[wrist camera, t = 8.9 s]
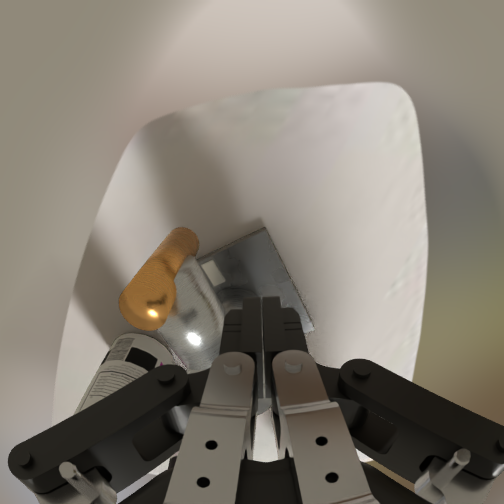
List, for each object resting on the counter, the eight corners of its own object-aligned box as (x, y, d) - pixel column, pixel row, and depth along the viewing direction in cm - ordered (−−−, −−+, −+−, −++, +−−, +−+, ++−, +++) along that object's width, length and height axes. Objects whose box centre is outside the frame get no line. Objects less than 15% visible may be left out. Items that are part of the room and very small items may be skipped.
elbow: (281, 344, 26) (291, 427, 17) (219, 364, 27) (209, 445, 18) (211, 211, 21) (182, 263, 13) (142, 245, 22) (86, 307, 14)
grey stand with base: (312, 324, 30) (326, 372, 24) (216, 361, 33) (208, 410, 26) (264, 227, 27) (268, 260, 20) (157, 279, 29) (131, 321, 22)
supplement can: (190, 364, 33) (165, 472, 19) (147, 385, 35) (116, 477, 21) (142, 318, 30) (88, 423, 17) (103, 346, 32) (52, 435, 18)
